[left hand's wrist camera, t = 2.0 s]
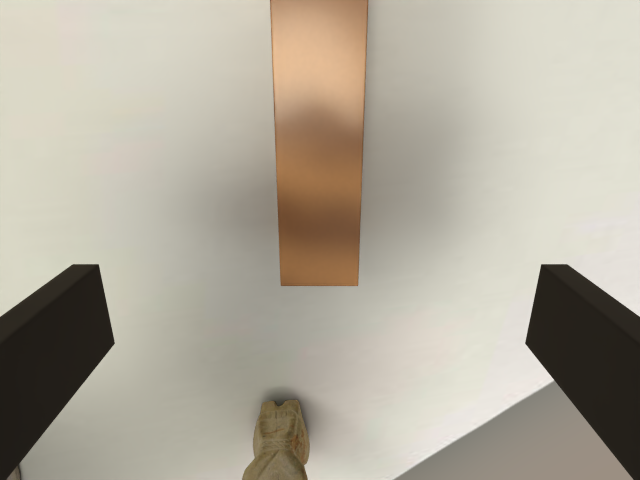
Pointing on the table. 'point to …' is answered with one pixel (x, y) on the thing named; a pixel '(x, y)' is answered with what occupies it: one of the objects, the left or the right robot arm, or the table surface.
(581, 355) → the left robot arm
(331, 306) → the table surface
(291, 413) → the sculpture
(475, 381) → the table surface
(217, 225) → the table surface
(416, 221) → the table surface
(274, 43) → the bar
